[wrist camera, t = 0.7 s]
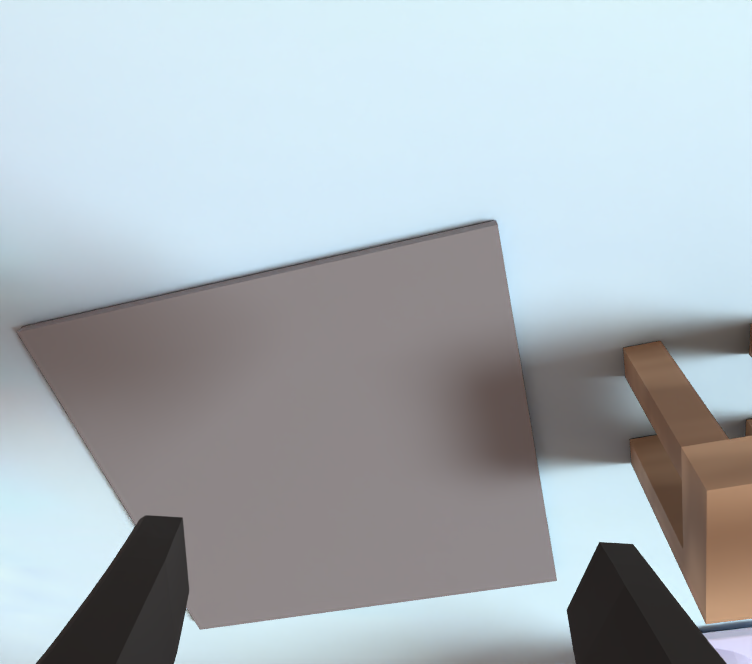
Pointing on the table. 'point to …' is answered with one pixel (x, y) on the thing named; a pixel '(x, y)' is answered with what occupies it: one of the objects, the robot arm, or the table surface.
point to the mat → (319, 427)
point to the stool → (695, 483)
